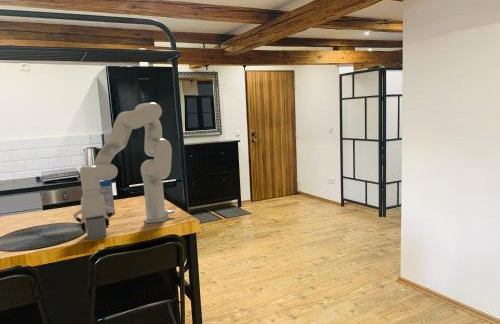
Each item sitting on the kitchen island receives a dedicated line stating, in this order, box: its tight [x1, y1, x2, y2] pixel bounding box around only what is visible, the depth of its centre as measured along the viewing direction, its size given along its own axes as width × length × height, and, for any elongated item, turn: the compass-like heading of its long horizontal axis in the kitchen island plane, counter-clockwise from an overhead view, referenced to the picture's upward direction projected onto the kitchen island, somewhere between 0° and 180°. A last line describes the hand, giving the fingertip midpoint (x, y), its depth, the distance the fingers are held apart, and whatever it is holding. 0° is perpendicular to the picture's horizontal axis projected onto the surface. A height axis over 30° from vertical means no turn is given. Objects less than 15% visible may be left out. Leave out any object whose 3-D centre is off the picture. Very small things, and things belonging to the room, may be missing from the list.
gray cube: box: [84, 216, 107, 241], centre depth 167 cm, size 8×8×9 cm
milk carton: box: [99, 179, 116, 216], centre depth 205 cm, size 10×6×20 cm, turn 57°
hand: (95, 229), depth 167 cm, fingers open, 9 cm apart
